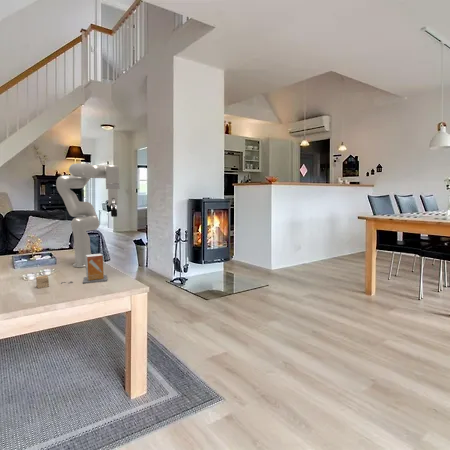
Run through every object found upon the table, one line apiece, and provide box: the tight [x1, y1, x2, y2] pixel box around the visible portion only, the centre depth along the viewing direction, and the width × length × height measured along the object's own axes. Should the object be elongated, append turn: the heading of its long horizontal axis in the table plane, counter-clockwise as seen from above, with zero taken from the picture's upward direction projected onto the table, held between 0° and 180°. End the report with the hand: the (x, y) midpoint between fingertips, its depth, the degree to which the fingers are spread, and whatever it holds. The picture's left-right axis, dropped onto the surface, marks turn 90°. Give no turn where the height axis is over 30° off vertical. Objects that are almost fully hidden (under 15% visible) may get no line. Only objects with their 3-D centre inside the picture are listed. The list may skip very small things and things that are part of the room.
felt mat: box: [82, 274, 108, 284], centre depth 187 cm, size 12×12×1 cm
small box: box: [85, 253, 105, 281], centre depth 187 cm, size 8×6×13 cm
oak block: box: [35, 275, 50, 289], centre depth 175 cm, size 5×5×5 cm
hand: (114, 216), depth 203 cm, fingers open, 9 cm apart
